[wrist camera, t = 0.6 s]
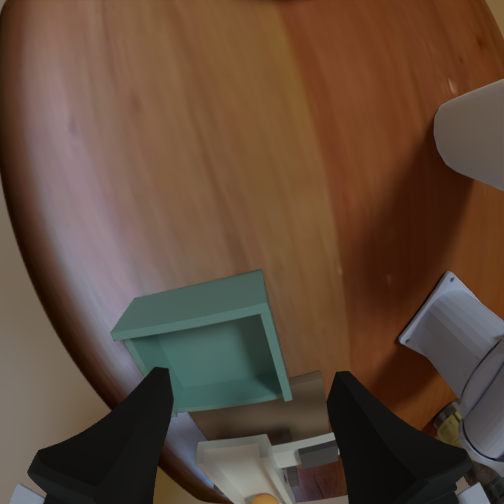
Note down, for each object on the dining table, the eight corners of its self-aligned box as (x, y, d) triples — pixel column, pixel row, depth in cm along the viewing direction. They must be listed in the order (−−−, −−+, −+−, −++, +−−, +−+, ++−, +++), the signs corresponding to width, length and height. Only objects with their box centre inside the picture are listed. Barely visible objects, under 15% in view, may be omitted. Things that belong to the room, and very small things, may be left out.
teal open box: (287, 372, 23) (295, 413, 19) (180, 390, 24) (171, 429, 19) (261, 269, 20) (266, 302, 15) (134, 298, 21) (110, 333, 16)
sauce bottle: (432, 430, 30) (479, 521, 11) (429, 415, 28) (485, 518, 9) (465, 407, 29) (518, 491, 10) (465, 389, 27) (529, 483, 8)
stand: (330, 453, 29) (342, 499, 21) (234, 470, 29) (234, 516, 22) (320, 370, 23) (341, 434, 16) (184, 395, 24) (171, 458, 17)
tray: (335, 474, 24) (343, 503, 20) (248, 490, 25) (249, 520, 20) (329, 399, 19) (343, 444, 15) (200, 423, 20) (194, 467, 15)
